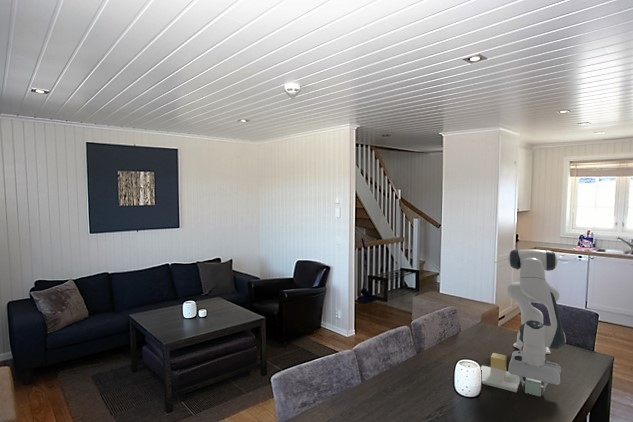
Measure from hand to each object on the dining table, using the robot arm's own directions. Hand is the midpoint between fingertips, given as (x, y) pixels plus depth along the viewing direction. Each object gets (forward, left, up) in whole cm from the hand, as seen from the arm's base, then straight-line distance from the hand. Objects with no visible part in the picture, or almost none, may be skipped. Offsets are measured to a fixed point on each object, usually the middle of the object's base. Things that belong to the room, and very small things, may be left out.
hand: (533, 388), depth 169 cm
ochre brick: (-4, -15, +4) cm, 16 cm away
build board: (-4, -15, -2) cm, 16 cm away
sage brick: (0, 0, -2) cm, 2 cm away
